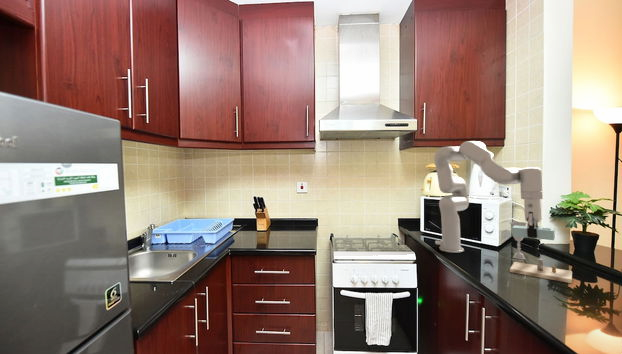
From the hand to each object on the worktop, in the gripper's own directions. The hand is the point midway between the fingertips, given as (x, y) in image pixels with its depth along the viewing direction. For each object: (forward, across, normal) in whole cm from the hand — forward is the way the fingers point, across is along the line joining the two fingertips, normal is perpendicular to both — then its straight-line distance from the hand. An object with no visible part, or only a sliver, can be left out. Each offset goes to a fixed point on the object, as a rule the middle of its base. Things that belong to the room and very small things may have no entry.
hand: (533, 235), depth 122 cm
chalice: (+16, +20, +8) cm, 27 cm away
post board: (+16, 0, -2) cm, 16 cm away
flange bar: (+1, 0, 0) cm, 1 cm away
